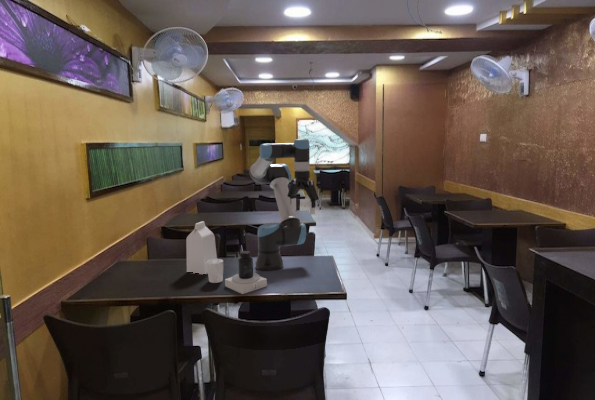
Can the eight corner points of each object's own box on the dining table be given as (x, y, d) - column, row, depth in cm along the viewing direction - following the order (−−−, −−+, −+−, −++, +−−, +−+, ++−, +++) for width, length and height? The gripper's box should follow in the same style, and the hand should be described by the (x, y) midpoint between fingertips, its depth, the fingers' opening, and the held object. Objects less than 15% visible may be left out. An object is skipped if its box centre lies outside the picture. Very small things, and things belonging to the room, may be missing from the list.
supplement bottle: (237, 275, 194) (236, 250, 192) (251, 273, 196) (251, 249, 194) (239, 280, 187) (238, 254, 185) (254, 278, 189) (253, 253, 187)
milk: (205, 274, 210) (202, 225, 206) (186, 272, 214) (183, 224, 211) (217, 267, 221) (215, 220, 217) (200, 265, 225) (197, 219, 222)
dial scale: (225, 286, 193) (224, 276, 192) (249, 279, 202) (249, 270, 201) (243, 294, 182) (242, 284, 181) (267, 286, 191) (267, 277, 191)
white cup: (226, 279, 203) (226, 259, 201) (218, 284, 196) (217, 264, 194) (213, 277, 206) (212, 258, 204) (204, 282, 198) (203, 262, 197)
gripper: (325, 170, 195) (326, 214, 198) (291, 169, 213) (291, 208, 216) (314, 172, 190) (315, 216, 193) (280, 169, 208) (281, 210, 211)
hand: (302, 212), depth 205 cm, fingers open, 13 cm apart
